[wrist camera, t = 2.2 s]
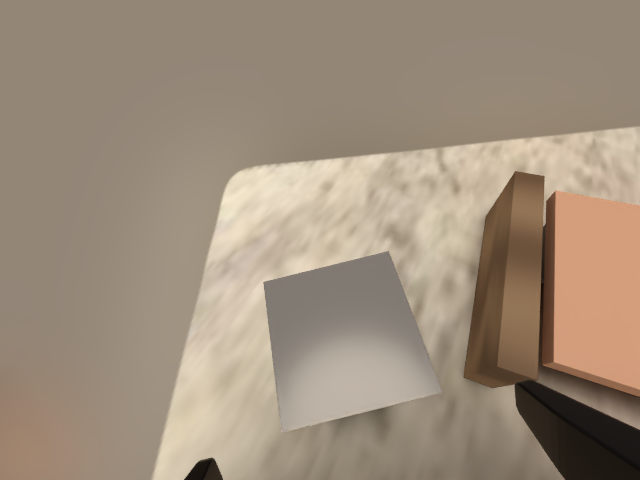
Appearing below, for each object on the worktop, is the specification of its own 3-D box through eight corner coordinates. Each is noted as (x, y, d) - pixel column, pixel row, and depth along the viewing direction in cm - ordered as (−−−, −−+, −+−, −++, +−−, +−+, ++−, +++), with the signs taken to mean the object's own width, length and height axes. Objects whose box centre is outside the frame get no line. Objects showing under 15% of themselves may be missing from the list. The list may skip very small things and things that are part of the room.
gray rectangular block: (397, 402, 17) (442, 392, 8) (325, 420, 17) (281, 432, 8) (375, 328, 20) (388, 251, 10) (310, 344, 19) (263, 282, 10)
